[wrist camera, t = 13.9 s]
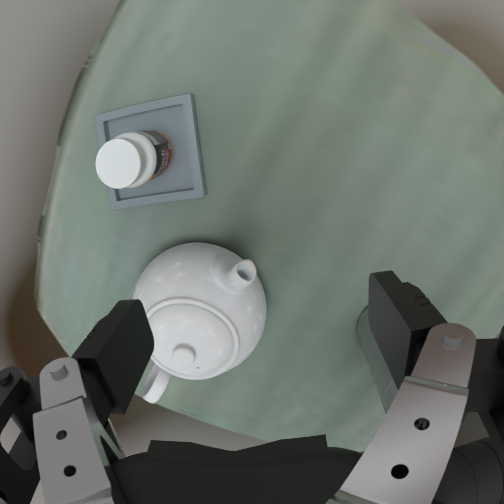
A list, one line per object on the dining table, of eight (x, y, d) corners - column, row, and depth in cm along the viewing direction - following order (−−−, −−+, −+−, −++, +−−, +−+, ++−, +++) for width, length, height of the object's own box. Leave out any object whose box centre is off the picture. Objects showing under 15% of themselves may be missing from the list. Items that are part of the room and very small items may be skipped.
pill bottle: (163, 184, 37) (132, 205, 28) (123, 165, 36) (83, 180, 27) (182, 140, 35) (155, 148, 26) (140, 122, 34) (102, 124, 25)
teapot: (121, 244, 41) (71, 295, 29) (256, 221, 39) (253, 271, 27) (161, 353, 48) (137, 418, 36) (278, 342, 46) (281, 414, 34)
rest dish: (206, 193, 38) (204, 197, 36) (117, 206, 39) (111, 210, 37) (193, 94, 33) (190, 93, 32) (101, 115, 34) (94, 115, 33)
